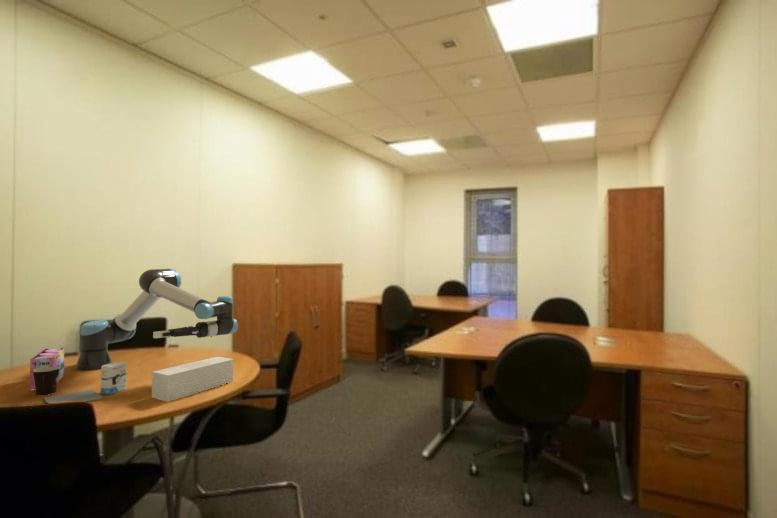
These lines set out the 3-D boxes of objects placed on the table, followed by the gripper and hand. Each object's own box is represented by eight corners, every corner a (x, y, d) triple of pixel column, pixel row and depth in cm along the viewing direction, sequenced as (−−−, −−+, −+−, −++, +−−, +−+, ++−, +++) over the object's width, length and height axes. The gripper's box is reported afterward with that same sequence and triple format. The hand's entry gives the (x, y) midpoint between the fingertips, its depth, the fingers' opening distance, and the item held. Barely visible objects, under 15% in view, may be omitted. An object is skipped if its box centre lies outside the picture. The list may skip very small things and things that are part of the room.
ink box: (110, 395, 174) (110, 366, 174) (100, 394, 175) (100, 365, 175) (126, 389, 182) (127, 361, 182) (117, 388, 183) (117, 361, 183)
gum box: (45, 376, 200) (45, 348, 200) (65, 374, 203) (65, 346, 204) (29, 390, 178) (29, 358, 179) (52, 388, 182) (52, 357, 182)
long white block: (167, 402, 166) (168, 375, 166) (151, 397, 172) (151, 371, 172) (233, 382, 194) (233, 359, 194) (217, 379, 200) (218, 356, 200)
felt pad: (44, 399, 168) (44, 397, 168) (92, 390, 179) (92, 389, 179) (52, 409, 157) (52, 407, 157) (102, 399, 169) (102, 397, 169)
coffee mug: (42, 390, 179) (43, 366, 179) (64, 389, 180) (64, 366, 180) (21, 399, 168) (21, 374, 168) (44, 398, 168) (44, 373, 168)
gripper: (211, 338, 203) (159, 345, 185) (199, 335, 212) (148, 341, 194) (212, 323, 203) (159, 328, 185) (199, 320, 212) (148, 325, 195)
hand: (153, 335), depth 190 cm, fingers closed
